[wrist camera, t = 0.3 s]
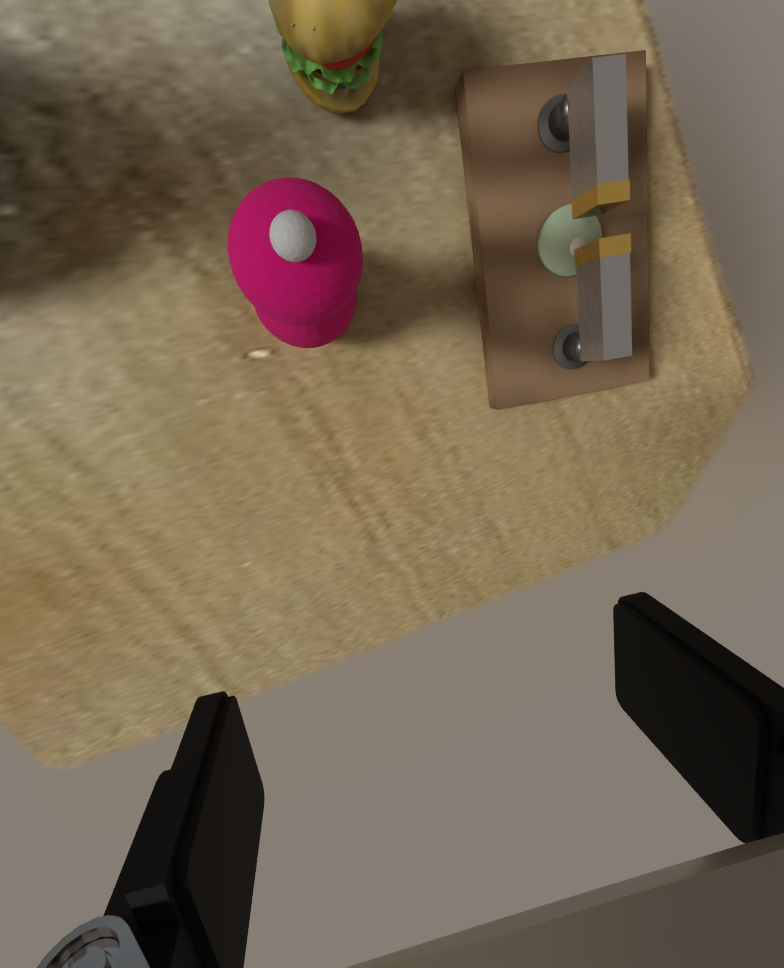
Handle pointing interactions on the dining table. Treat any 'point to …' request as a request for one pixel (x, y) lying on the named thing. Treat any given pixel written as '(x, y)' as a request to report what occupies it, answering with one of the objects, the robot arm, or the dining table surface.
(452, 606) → the dining table surface
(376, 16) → the hamburger
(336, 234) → the pepper mill
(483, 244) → the level plate
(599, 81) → the gold-tipped grey bar
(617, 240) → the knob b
